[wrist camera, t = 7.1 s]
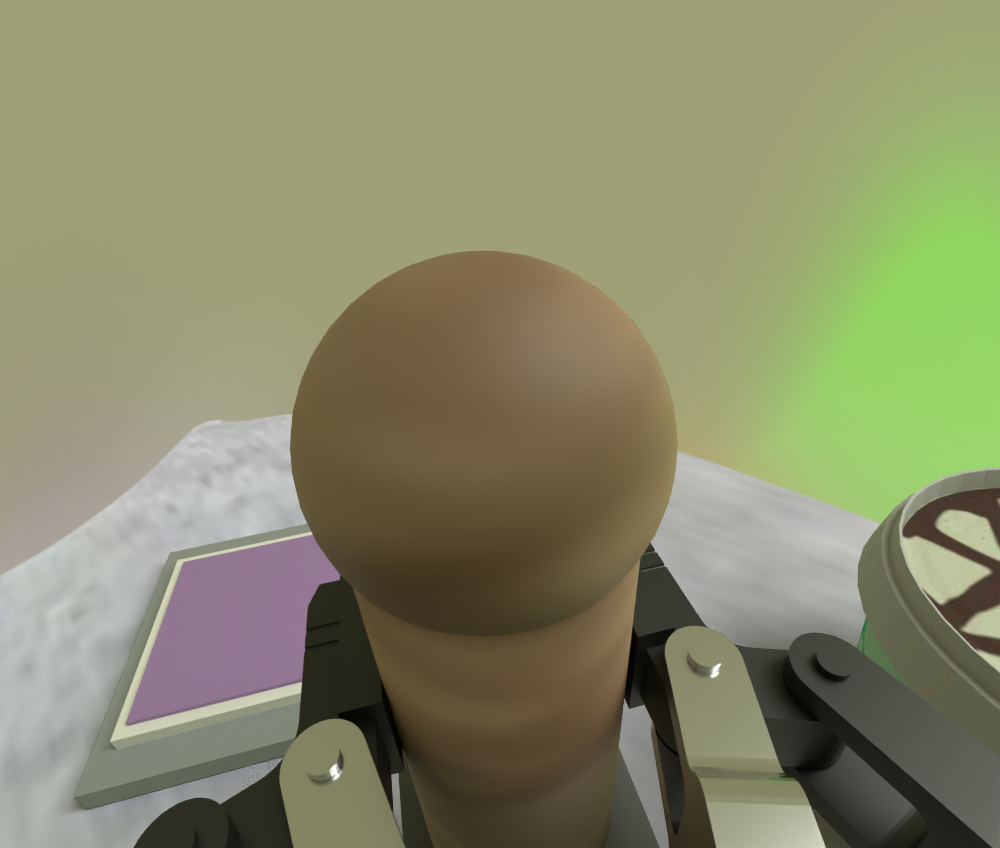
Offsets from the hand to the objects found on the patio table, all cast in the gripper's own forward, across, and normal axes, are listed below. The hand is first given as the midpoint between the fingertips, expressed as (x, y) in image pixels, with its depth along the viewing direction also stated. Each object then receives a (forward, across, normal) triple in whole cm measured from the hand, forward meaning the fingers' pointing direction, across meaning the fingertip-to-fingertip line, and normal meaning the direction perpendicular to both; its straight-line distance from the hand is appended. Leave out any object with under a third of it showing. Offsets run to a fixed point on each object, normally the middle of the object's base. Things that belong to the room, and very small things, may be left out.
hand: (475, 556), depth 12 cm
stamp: (-3, 0, +7) cm, 8 cm away
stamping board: (+11, +4, +14) cm, 18 cm away
